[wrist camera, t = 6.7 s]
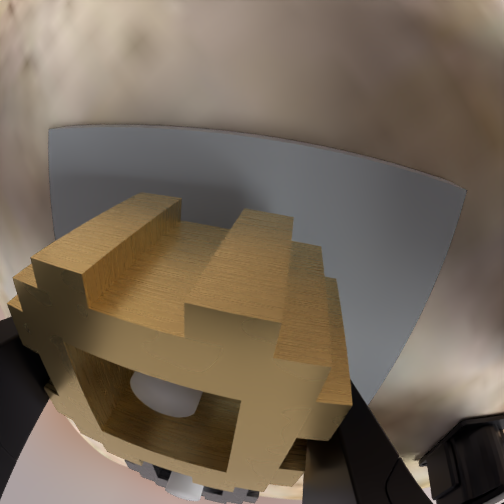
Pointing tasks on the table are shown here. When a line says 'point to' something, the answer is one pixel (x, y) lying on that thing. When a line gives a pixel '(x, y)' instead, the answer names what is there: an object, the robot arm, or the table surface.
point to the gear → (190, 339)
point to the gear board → (283, 203)
